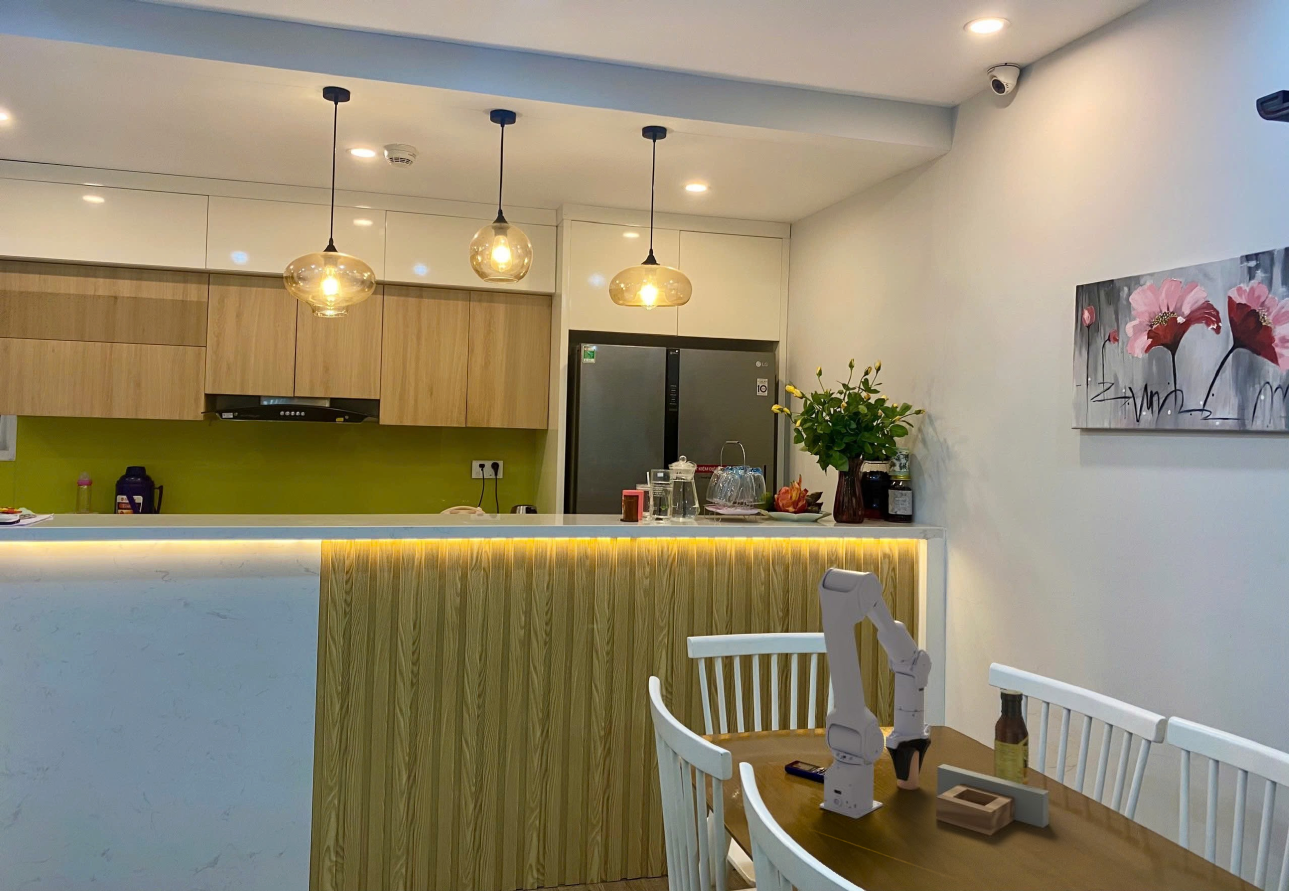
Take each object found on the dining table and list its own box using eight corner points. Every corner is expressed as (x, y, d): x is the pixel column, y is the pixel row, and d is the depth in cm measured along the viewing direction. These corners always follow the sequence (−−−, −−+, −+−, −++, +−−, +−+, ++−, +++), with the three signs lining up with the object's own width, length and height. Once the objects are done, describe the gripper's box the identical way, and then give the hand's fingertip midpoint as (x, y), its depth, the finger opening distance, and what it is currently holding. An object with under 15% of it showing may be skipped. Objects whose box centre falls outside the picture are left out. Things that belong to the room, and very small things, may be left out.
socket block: (990, 835, 163) (990, 812, 163) (936, 818, 170) (936, 796, 170) (1014, 819, 171) (1014, 797, 171) (961, 804, 178) (961, 783, 178)
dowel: (912, 791, 184) (912, 755, 185) (893, 786, 187) (894, 750, 187) (921, 786, 187) (922, 751, 187) (903, 781, 190) (904, 746, 190)
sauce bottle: (1031, 801, 180) (1032, 697, 180) (996, 798, 182) (998, 695, 182) (1024, 789, 187) (1026, 689, 187) (991, 787, 188) (992, 686, 188)
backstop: (1042, 828, 167) (1043, 794, 168) (936, 798, 181) (937, 766, 181) (1048, 824, 169) (1048, 790, 169) (943, 794, 183) (943, 763, 183)
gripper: (909, 719, 179) (908, 790, 179) (945, 705, 190) (943, 773, 190) (876, 711, 184) (875, 781, 184) (912, 698, 195) (911, 764, 195)
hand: (907, 776), depth 187 cm, fingers closed on dowel, 4 cm apart
